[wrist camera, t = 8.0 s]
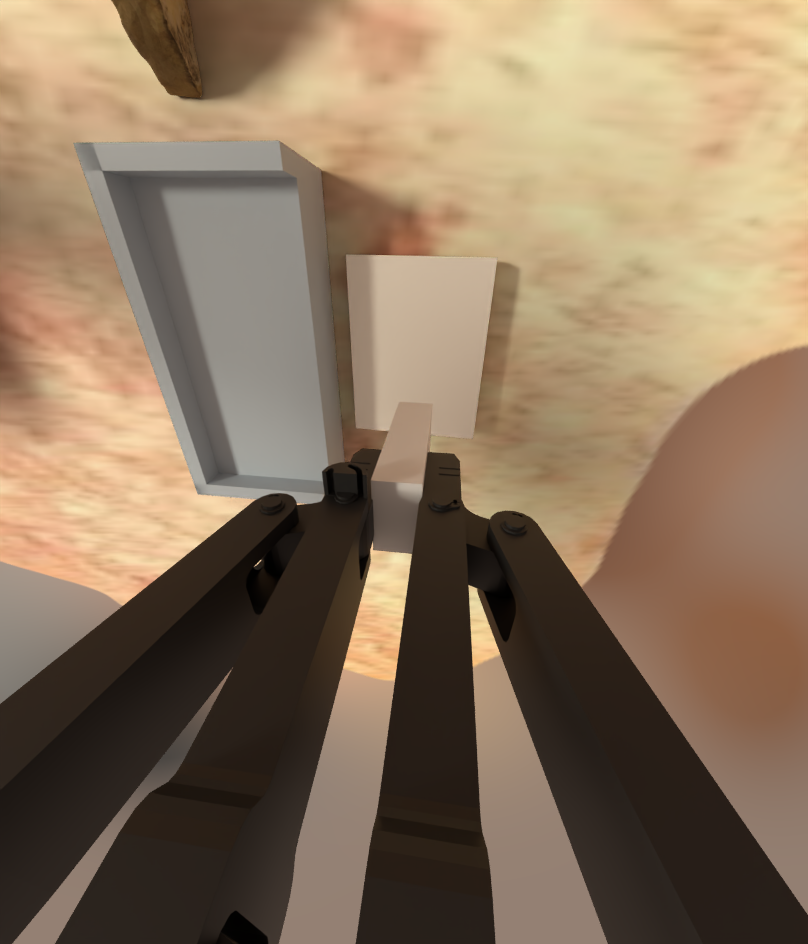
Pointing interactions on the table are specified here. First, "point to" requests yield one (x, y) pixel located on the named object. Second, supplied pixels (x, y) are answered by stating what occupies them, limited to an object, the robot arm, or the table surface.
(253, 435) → the bed
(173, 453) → the table surface
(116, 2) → the rock
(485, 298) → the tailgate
